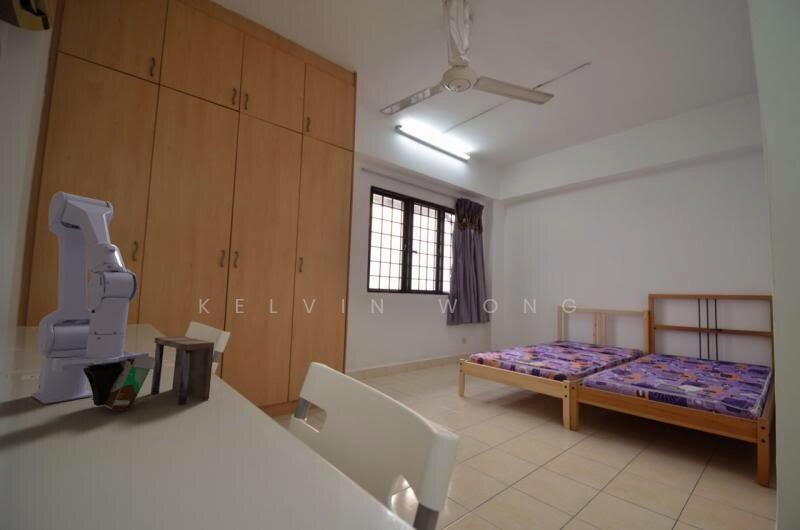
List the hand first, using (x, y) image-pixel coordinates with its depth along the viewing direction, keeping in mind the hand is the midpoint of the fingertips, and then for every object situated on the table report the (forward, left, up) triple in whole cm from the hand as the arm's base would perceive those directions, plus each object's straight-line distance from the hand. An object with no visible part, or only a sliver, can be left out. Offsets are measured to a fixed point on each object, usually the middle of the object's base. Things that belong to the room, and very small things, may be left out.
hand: (98, 404), depth 69 cm
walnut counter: (0, +14, -1) cm, 14 cm away
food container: (0, +3, -1) cm, 3 cm away
